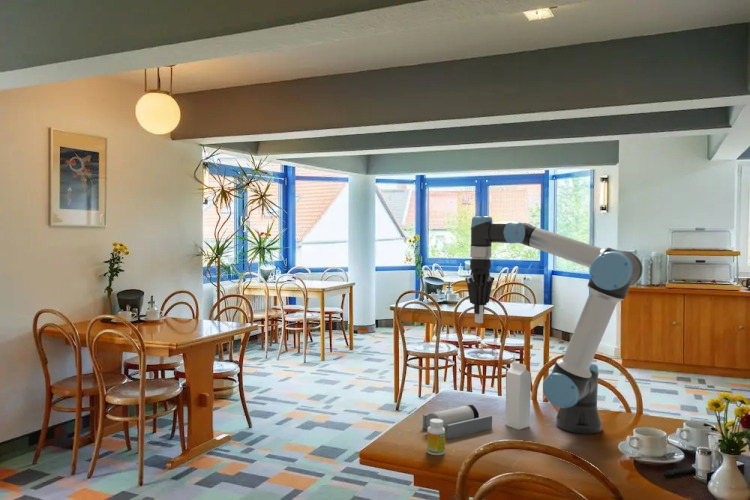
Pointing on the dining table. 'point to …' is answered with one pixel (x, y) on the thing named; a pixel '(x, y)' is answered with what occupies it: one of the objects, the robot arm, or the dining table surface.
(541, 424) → the dining table surface
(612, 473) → the dining table surface
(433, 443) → the supplement bottle
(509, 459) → the dining table surface
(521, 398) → the milk
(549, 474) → the dining table surface
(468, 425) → the cradle
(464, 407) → the travel mug
